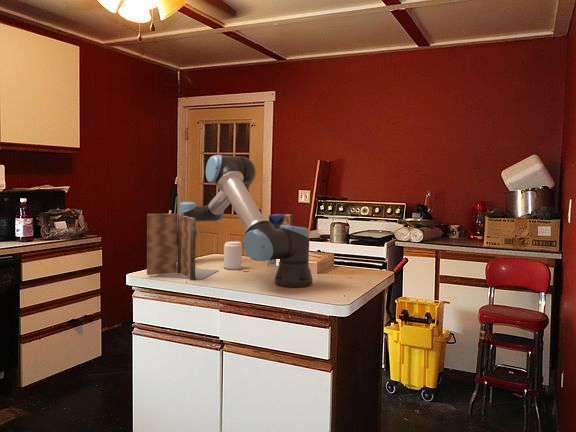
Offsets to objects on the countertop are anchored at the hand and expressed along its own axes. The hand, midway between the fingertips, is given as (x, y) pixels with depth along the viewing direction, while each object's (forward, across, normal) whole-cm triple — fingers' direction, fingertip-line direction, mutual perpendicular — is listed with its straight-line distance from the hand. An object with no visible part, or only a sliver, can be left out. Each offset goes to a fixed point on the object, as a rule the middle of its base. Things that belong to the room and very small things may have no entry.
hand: (154, 243), depth 216 cm
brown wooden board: (-1, -3, -13) cm, 13 cm away
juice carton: (-45, -43, -14) cm, 64 cm away
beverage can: (-27, -25, -14) cm, 39 cm away
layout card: (-8, -12, -13) cm, 20 cm away
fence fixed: (-2, -13, -13) cm, 19 cm away
